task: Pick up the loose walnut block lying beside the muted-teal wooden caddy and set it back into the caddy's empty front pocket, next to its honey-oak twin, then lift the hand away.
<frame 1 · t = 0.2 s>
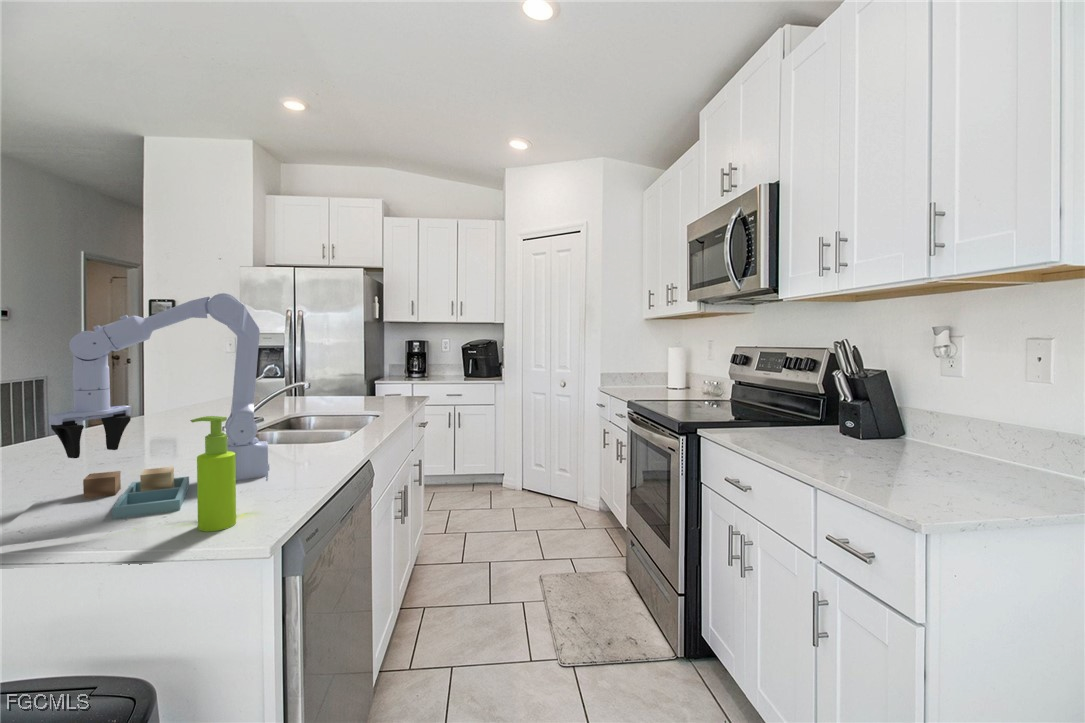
hand: (93, 453, 106), 9 cm above the countertop, fingers open, 7 cm apart
soap dispenser: (214, 526, 92), on the countertop
walnut block: (102, 498, 106), on the countertop
oak twin block: (158, 494, 106), point 1 cm above the countertop, touching caddy
caddy: (154, 505, 102), on the countertop
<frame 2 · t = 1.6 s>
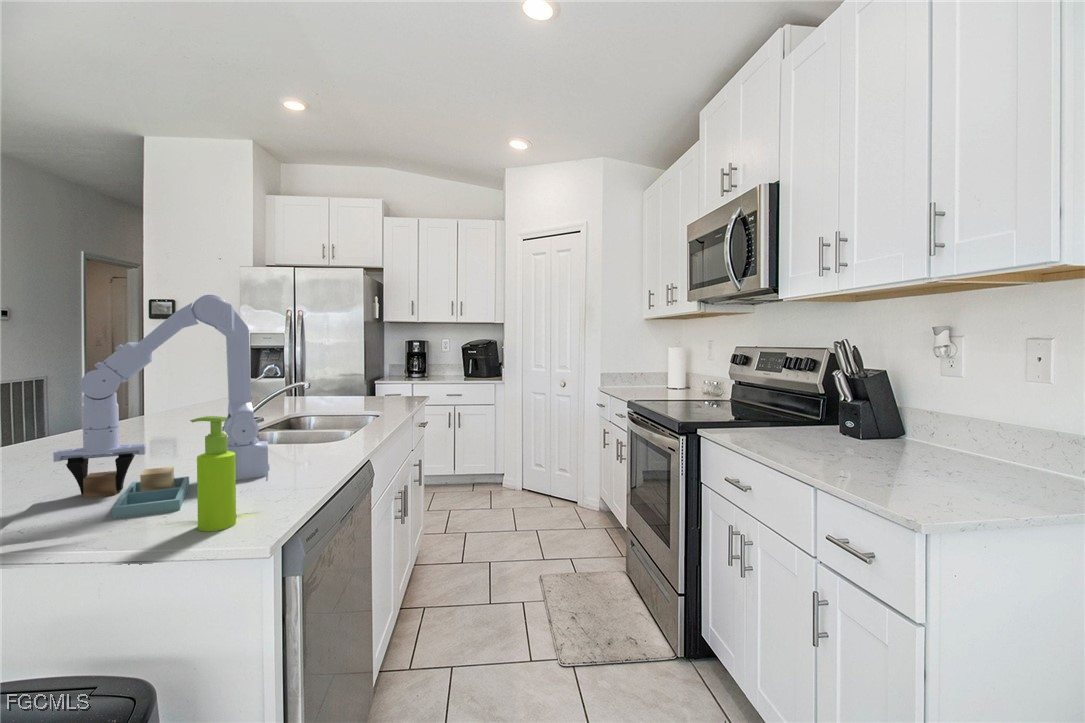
hand: (102, 491, 106), 1 cm above the countertop, fingers closed on walnut block, 5 cm apart
walnut block: (102, 498, 106), on the countertop, touching gripper
everything else where it was.
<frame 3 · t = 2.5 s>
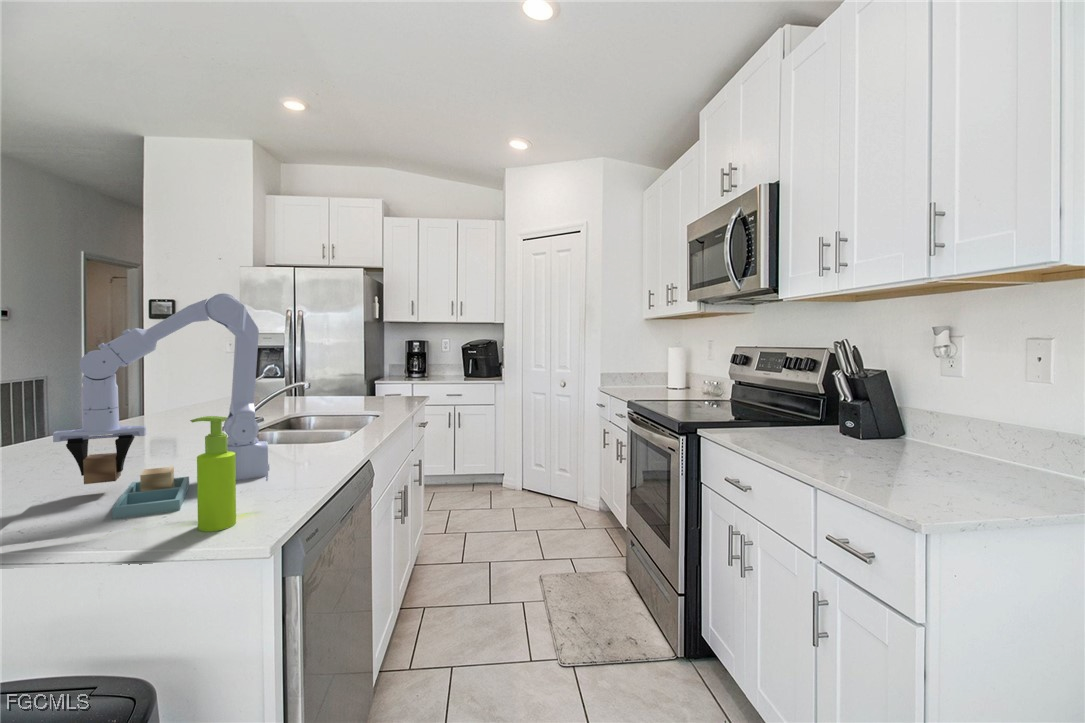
hand: (102, 472, 106), 5 cm above the countertop, fingers closed on walnut block, 5 cm apart
walnut block: (102, 479, 106), point 4 cm above the countertop, touching gripper
everything else where it was.
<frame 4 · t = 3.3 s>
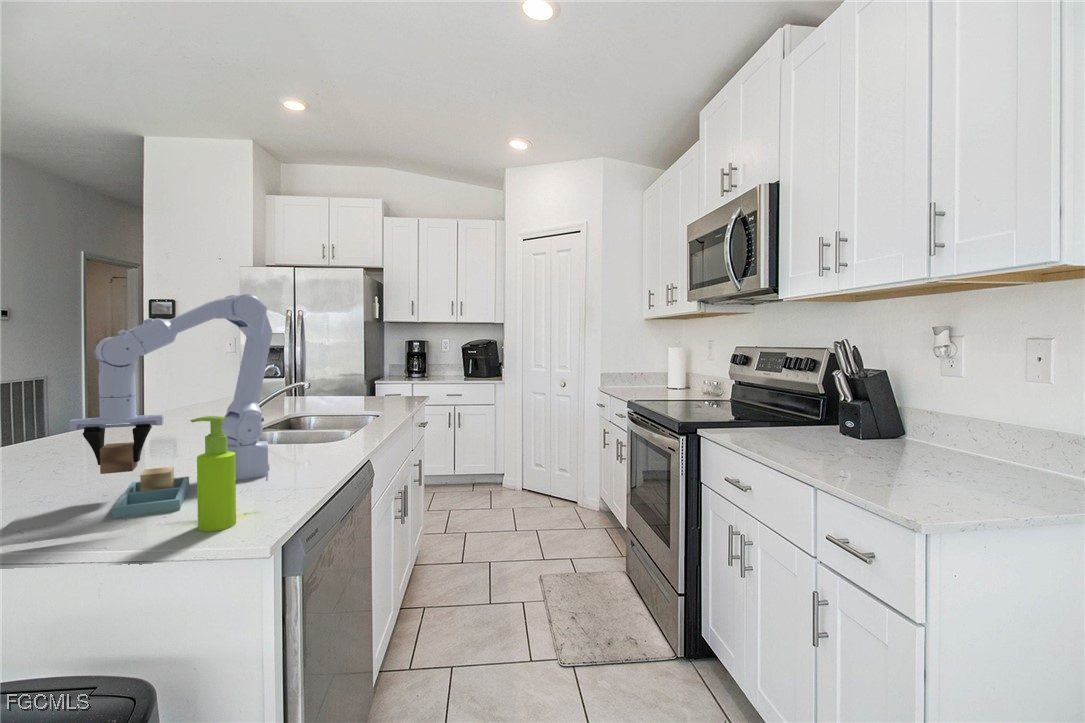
hand: (119, 462, 103), 8 cm above the countertop, fingers closed on walnut block, 5 cm apart
walnut block: (119, 469, 103), point 7 cm above the countertop, touching gripper
everything else where it was.
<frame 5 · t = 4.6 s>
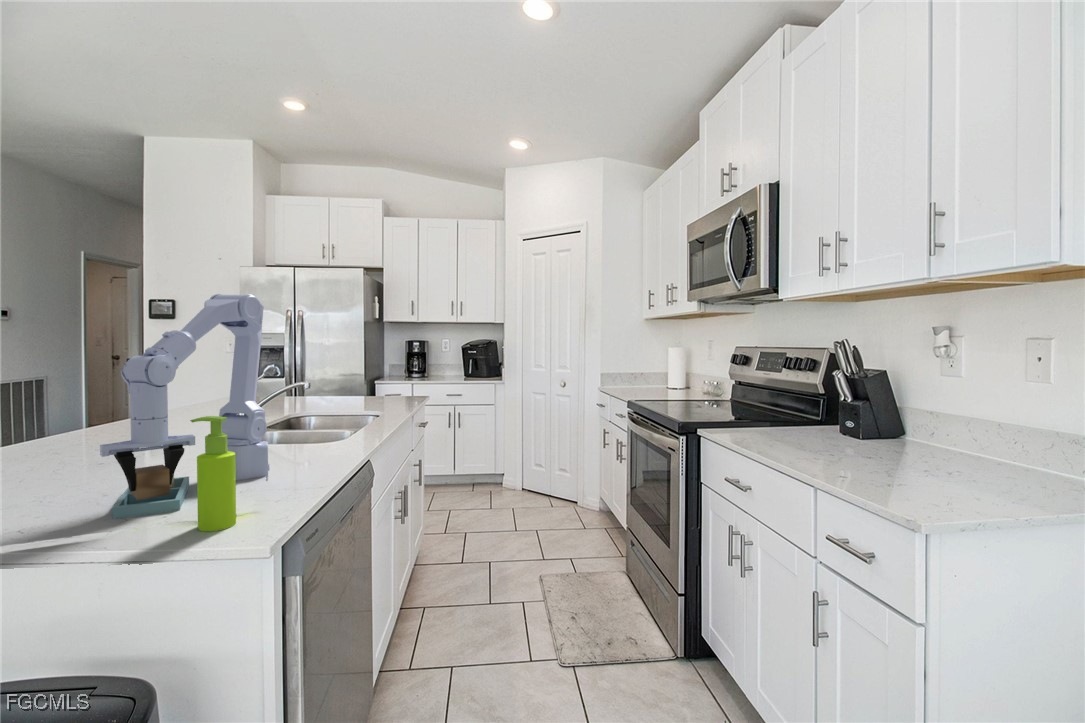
hand: (150, 486, 98), 5 cm above the countertop, fingers closed on walnut block, 5 cm apart
walnut block: (150, 494, 98), point 3 cm above the countertop, touching gripper
everything else where it was.
when the fingers open (4 cm above the countertop, at t = 5.3 s): walnut block drops 1 cm, resting on caddy.
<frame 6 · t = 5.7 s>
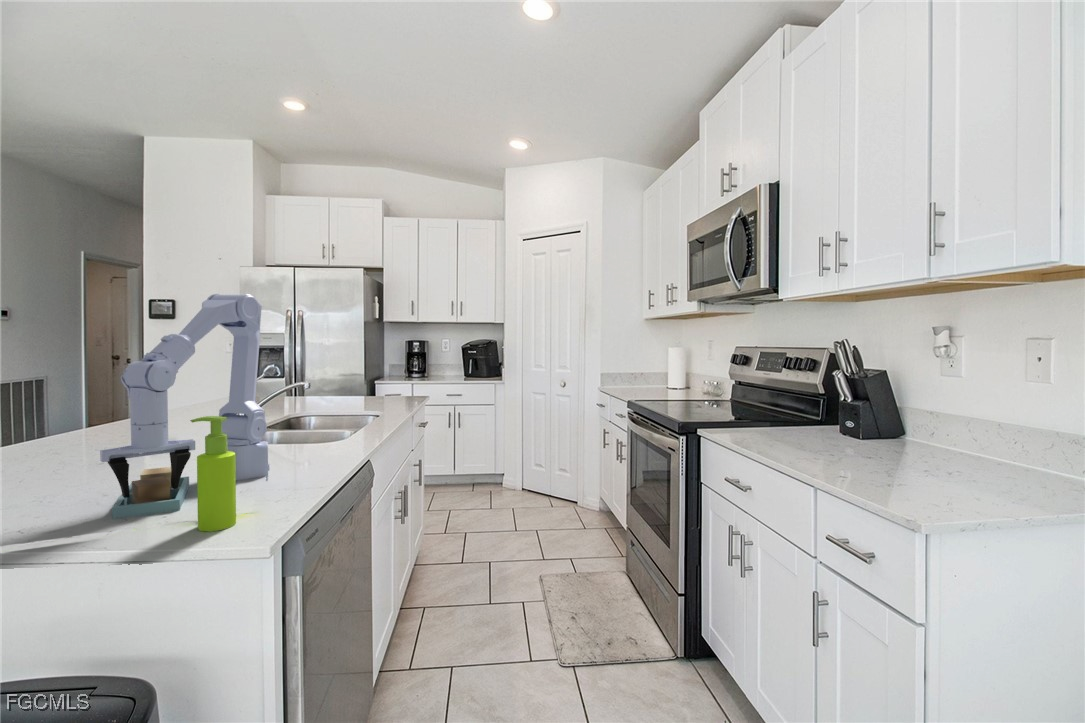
hand: (150, 491, 98), 4 cm above the countertop, fingers open, 7 cm apart
walnut block: (151, 506, 99), point 1 cm above the countertop, touching caddy
everything else where it was.
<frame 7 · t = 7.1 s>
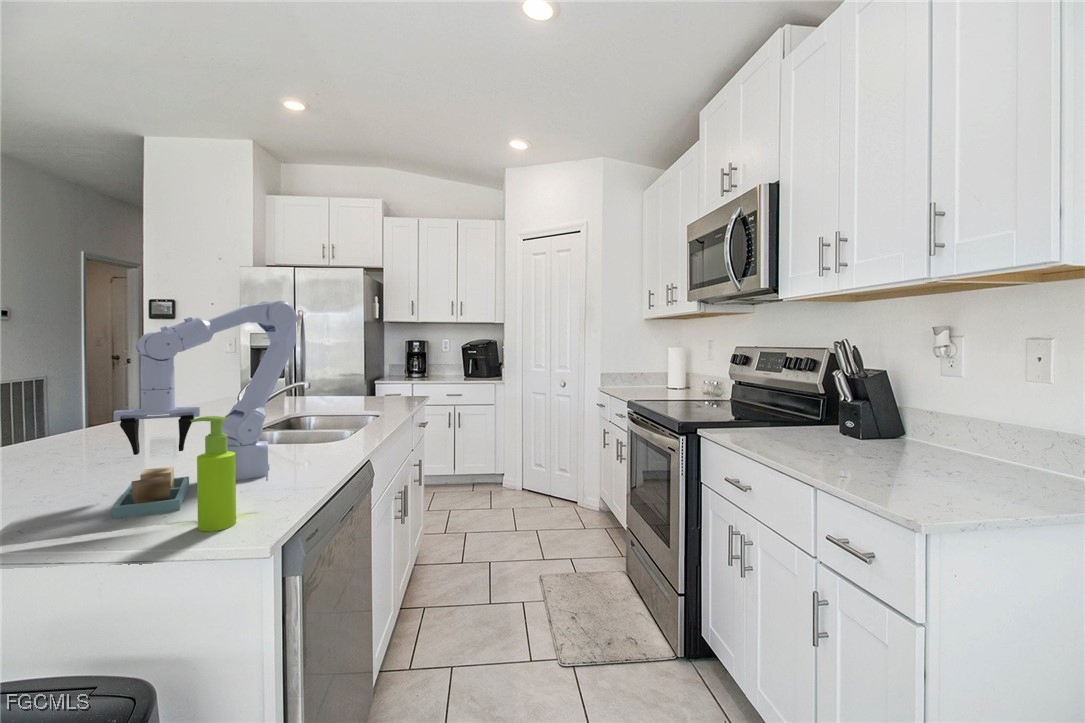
hand: (159, 452, 108), 9 cm above the countertop, fingers open, 7 cm apart
nothing on the countertop moved.
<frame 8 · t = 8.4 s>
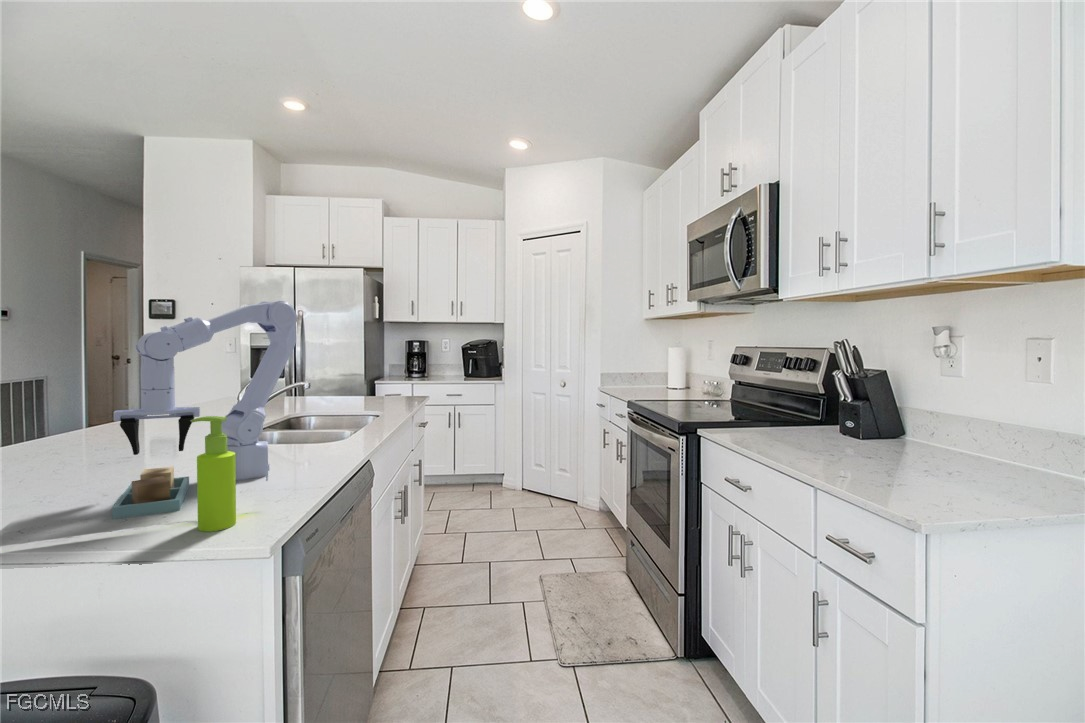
hand: (159, 452, 108), 9 cm above the countertop, fingers open, 7 cm apart
nothing on the countertop moved.
at the end: walnut block 0.1 cm from the target spot on the caddy, point 1.0 cm above the caddy's base; walnut block tilted 0°; the gripper is holding nothing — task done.
